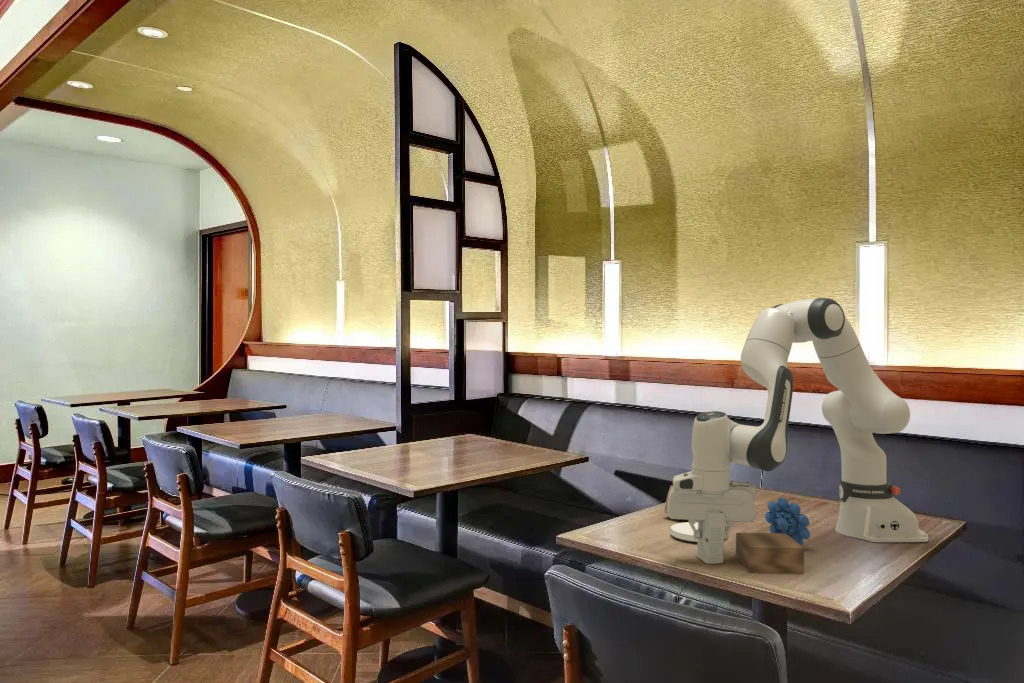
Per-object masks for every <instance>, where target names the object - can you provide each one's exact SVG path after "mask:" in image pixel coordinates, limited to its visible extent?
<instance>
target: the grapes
mask: <svg viewBox="0 0 1024 683" xmlns="http://www.w3.org/2000/svg"><path fill="white" fill-rule="evenodd" d="M767 508H768V511H766V513H764V518H765V521H766V522H767V523H768V524H770V526H769V533H787V534H788V535H789V536H790V537H791V538H793V539H794V540H795V541H796V542H797V543H799V544H800V545H801V546H802V547H803V545H804V540H806V541H807V540H809V539H810V538H811V532H810V530H809V529H808V528H807V527H808V526H809V525H810V519H809V518H808V516H807V515H805V514H804V513H801V512H802V509H801V507H800V505H799V504H798V503H795V502H790V503H789V501H788V500H787V499H786V498H785V497H779V498H778V499H777V501H776V502H775V501H773V500H771V501H769V502H768V503H767Z"/></svg>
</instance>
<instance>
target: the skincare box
mask: <svg viewBox="0 0 1024 683" xmlns="http://www.w3.org/2000/svg"><path fill="white" fill-rule="evenodd" d="M725 525H726V521H725V513H724V512H715V511H706V520H698V530H700V539H698V542H696V543H697V546H696V547H697V548H696V549H697V550H696V551H697V552H696V555H697V558H699V559H700V560H701V561H702V562H704V563H705V564H709V565H713V564H723V563H724V554H725V553H724V549H725V548H724V547H725V540H724V530H725V529H726V526H725Z"/></svg>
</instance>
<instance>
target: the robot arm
mask: <svg viewBox="0 0 1024 683" xmlns="http://www.w3.org/2000/svg"><path fill="white" fill-rule="evenodd" d="M807 342H812V345H813V348H814V351H815V354H816V355H817V358H818V360H819V363H820V365H821V368H822V370H823V372H824V374H825V377H826V380H827V381H828V382H829V383H830V384H831V385H832V386H834V387H835V388H837V389H838V390H833V391H830V392H829V393H828V394H827V395H825V397H824V398H823V401H822V404H821V413H822V416H823V417H824V419H825V420H826V421H827V422H828V424H829V426H831V428H832V429H833V432H834V434H835V436H836V438H837V443H838V445H839V448H840V458H841V459H840V460H841V461H840V462H841V464H840V465H841V479H840V480H839V486H838V488H839V500H840V504H839V506H840V507H839V512H838V517H837V521H836V522H837V523H836V525H835V528H834V530H835V531H836V532H837V534H841V535H843V536H846V537H848V538H849V537H850V538H854V539H860V540H864V541H866V542H871V543H927V542H929V535H928V534H927V533H926V532H925V531H923V530H921V529H920V527H919V522H918V518H917V516H916V515H915V513H914V512H913V511H912V510H911V509H909V508H908V507H907V506H906V505H904V504H903V503H902V502H900V501H899V500H898V499H897V498H895V497H894V496H895V495H896V496H898V495H900V494H901V489H900V487H898V486H895V485H892V484H890V483H889V482H887V455H886V453H885V451H884V450H883V449H882V448H881V447H880V446H879V445H878V443H877V441H876V440H875V437H874V435H873V433H874V434H881V435H885V434H886V435H887V434H897V433H900V432H902V431H903V430H905V429H906V428H907V426H908V424H909V423H910V419H911V410H910V407H909V404H908V403H907V402H906V400H905V399H903V398H902V397H901V396H899V395H897V394H896V393H894V392H893V391H892V390H891V389H890V388H889V387H888V386H886V384H885V383H884V382H883V381H882V380H881V379H880V377H879V376H878V375H877V374H876V372H875V371H874V369H873V368H872V367H871V365H870V363H869V361H868V358H867V355H866V354H865V352H864V349H863V347H862V345H861V343H860V339H859V337H858V336H857V333H856V332H855V329H854V328H853V326H852V324H851V322H850V320H849V319H848V318H847V317H846V315H845V311H844V310H843V308H842V306H841V304H840V303H838V302H837V301H836V300H834V299H833V298H829V297H828V298H827V297H818V298H806V299H805V298H804V299H797V300H795V301H791V302H787V303H781V304H777V305H774V306H772V307H768V308H764V309H763V310H761V311H760V312H759V313H758V315H757V317H756V318H755V319H754V321H753V323H752V326H751V327H750V329H749V331H748V334H747V336H746V338H745V342H744V344H743V347H742V349H741V355H740V365H741V368H742V370H743V372H744V373H745V374H746V376H748V377H749V378H750V379H751V380H753V381H754V382H755V383H757V384H759V385H761V386H762V387H764V388H766V390H767V403H766V406H765V414H764V420H763V422H762V424H761V425H759V426H754V425H746V424H741V423H737V422H735V421H733V420H732V419H730V418H729V417H728V415H727V413H726V412H723V411H717V410H715V411H714V410H713V411H712V410H711V411H704V412H701V413H699V414H697V415H696V416H695V418H694V421H693V425H692V430H691V431H692V432H691V433H692V434H691V452H692V456H693V457H692V458H693V459H692V463H691V470H690V471H688V472H684V473H680V474H677V475H674V476H673V478H672V485H673V486H674V487H672V488H671V490H670V493H669V498H668V507H667V513H666V514H667V516H668V517H669V518H670V520H685V519H686V520H685V521H688V520H689V521H688V522H689V524H690V526H691V528H692V530H693V536H694V538H695V539H696V538H697V539H700V530H696V528H695V526H694V525H693V524H695V520H706V511H715V512H724V513H725V525H726V526H725V531H724V541H728V540H729V533H730V532H731V530H732V528H733V527H734V522H736V523H737V522H740V523H753V522H754V521H755V520H756V517H757V516H756V504H755V500H756V499H757V488H756V486H755V485H754V484H753V483H751V482H749V481H739V480H738V481H735V480H731V467H730V463H731V464H735V465H739V466H746V467H751V468H753V469H757V470H761V471H764V472H771V471H774V470H776V469H777V468H778V467H780V466H781V465H782V463H784V461H785V460H786V457H787V453H788V428H789V421H790V414H791V407H792V400H793V392H794V376H793V372H792V371H791V370H790V369H789V368H788V361H789V357H790V353H791V350H792V346H793V344H797V343H798V344H799V343H800V344H802V343H807Z"/></svg>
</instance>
